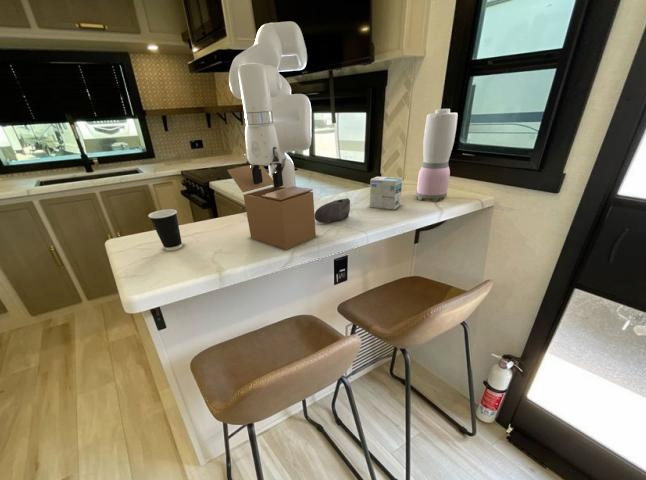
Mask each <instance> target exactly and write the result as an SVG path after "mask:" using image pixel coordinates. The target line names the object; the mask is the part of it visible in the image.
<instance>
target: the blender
mask: <svg viewBox="0 0 646 480" xmlns="http://www.w3.org/2000/svg"><path fill="white" fill-rule="evenodd" d="M458 116H459V115H458V112H451V109H450V108H440V109H439V108H438V109H435V111H434V113H428V114H427V115H426V120H425V125H424V132H423V141H422V153H423V155H422V156H423V162H422V165H421V167H420V169H419V171H418V175H417V176H418V177H417V188H416V193H415V194H416V196H417V199H418V200H419V201H422V200H423V199H432V201H433V202H439V200H440V199H441V198H445V197H447V195H448V187H449V182H450V177H451V176H450V175H451V169H450V166H449V161H450V157H451V154H452V151H453V147H454V144H455V138H456V132H457V125H458Z"/></svg>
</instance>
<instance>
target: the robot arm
mask: <svg viewBox="0 0 646 480" xmlns="http://www.w3.org/2000/svg"><path fill="white" fill-rule="evenodd" d="M304 39H305V38H304V36H303V33H302V30H301V27H300V26H299V25H298V24H297V23H296V22H294V21H291V20H289V21H280V22H269V23H268V22H267V23H264V24H262V25H261V26H260V28H259V29H258V30H257V33H256V37H255V41H254V44H253V45H251V46H249V47H248V48H247V49H245V50H243V51H242V52H239V54H237V55H236V56H235V57H234V58H233V60H232V63H231V65H230V69H229V72H228V73H229V74H228V84H229V88H230V91H231V93H232V95H233V96H234V97H235V98H236V99H238V100H242V107H243V114H244V119H245V126H244V127H245V129H244V136H245V149H246V152H245V153H244V157H245V159H246V161H247V164H248V166H250V169H251V170H252V175H253V182H254V184H258V183H262V182H263V179H262V172H261V169H259V168H260V165H261V166H263V167H267V166H268V174H269V175H270V177H271V178H272V180H273V183H274V184H273V185H270V187H273V186H274V187H275V188H277V187H285V188H288V187H292V186H295V187H297V184H296V173H295V165H294V162H293V160H292V158H291V157H290V156H289V154H287V153H288V152H303V151H307V150H309V149H310V147H311V145H312V106H311V101H310V99H309V97H308V96H307V95H306V94H303V93H294V94H293V93H292V87H291V85H290V83H289V81H288V80H287V79H286V78H285V77H284V76H283V75H282V74H280V72H293V71H302V70H304V69H305V68H306V66H307V62H308V53H307V47H306V43H305V40H304Z"/></svg>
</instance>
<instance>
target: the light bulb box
mask: <svg viewBox="0 0 646 480" xmlns="http://www.w3.org/2000/svg"><path fill="white" fill-rule="evenodd" d="M369 187H370V189H369V190H370V191H369V208H376V209H384V210H396V209H397V208H399V207H400V206H401V203H402V202H401V201H402V190H403V189H402V188H403V177H393V176H375V177H372V178H371V179H370V186H369Z"/></svg>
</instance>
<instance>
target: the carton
mask: <svg viewBox="0 0 646 480" xmlns="http://www.w3.org/2000/svg"><path fill="white" fill-rule="evenodd" d="M313 191H314V190H313V188H308V187H301V186H296V187H295V186H292V187H288V188H285V187H277V188H275V187H274V186H273V187H271V186H270V187H269V186H268V187H267V188H266V187H265V188H261V189H257V190H255V191H251V192H247V193H244V194H243V195H242V196H243V201H244V206H245V212H246V218H247V222H248V229H249V234H250V238H251V239H253V240H256V241H258V242H261V243H265V244H268V245H271V246H273V247H277V248H280V249H282V250H286V251H287V250H290V249H292V248H294V247H296V246H298V245H300V244H303V243H305V242H307V241H310V240H311V239H314V238H316V236H317V233H316V231H317V230H316V219H315V203H314V202H315V201H314V192H313Z"/></svg>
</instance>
